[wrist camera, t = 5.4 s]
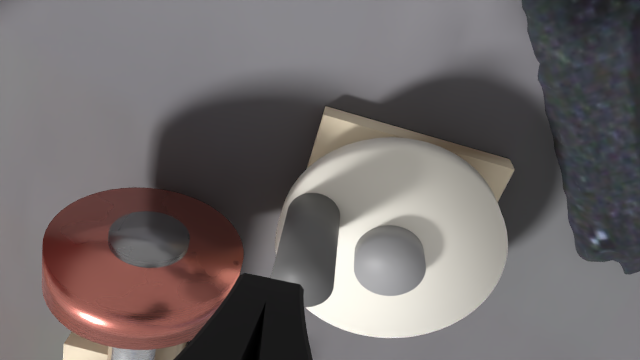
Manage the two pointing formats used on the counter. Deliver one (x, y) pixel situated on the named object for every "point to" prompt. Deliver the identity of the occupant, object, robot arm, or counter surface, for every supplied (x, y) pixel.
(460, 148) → the wheel pedestal
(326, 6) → the counter surface
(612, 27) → the folded black cloth
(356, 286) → the wheel
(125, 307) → the metal rod with cap
